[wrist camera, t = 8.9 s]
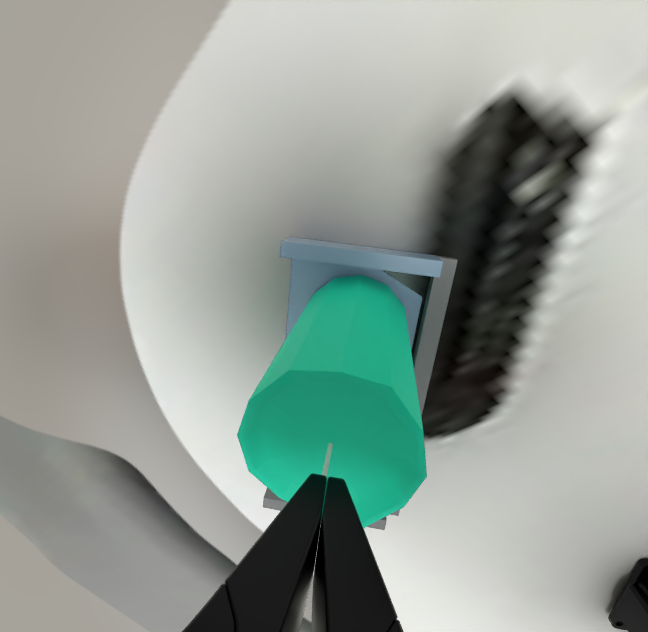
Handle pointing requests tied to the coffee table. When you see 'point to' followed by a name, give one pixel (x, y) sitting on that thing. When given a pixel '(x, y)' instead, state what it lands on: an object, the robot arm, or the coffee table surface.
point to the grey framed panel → (351, 260)
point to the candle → (341, 402)
